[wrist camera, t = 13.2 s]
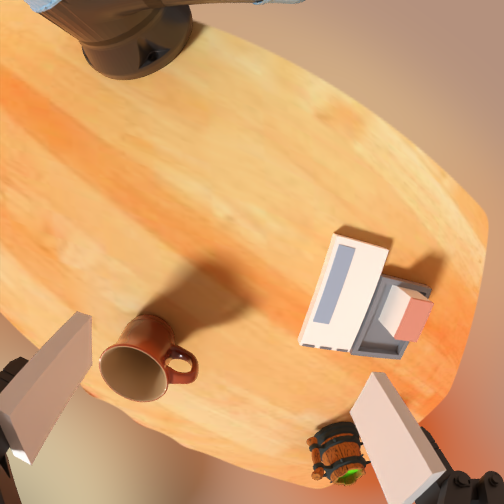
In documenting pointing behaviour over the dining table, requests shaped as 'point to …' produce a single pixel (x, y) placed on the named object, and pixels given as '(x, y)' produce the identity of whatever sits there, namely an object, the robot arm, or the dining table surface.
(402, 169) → the dining table surface
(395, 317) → the block
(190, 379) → the mug
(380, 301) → the tray
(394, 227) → the dining table surface
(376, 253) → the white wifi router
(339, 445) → the mug
